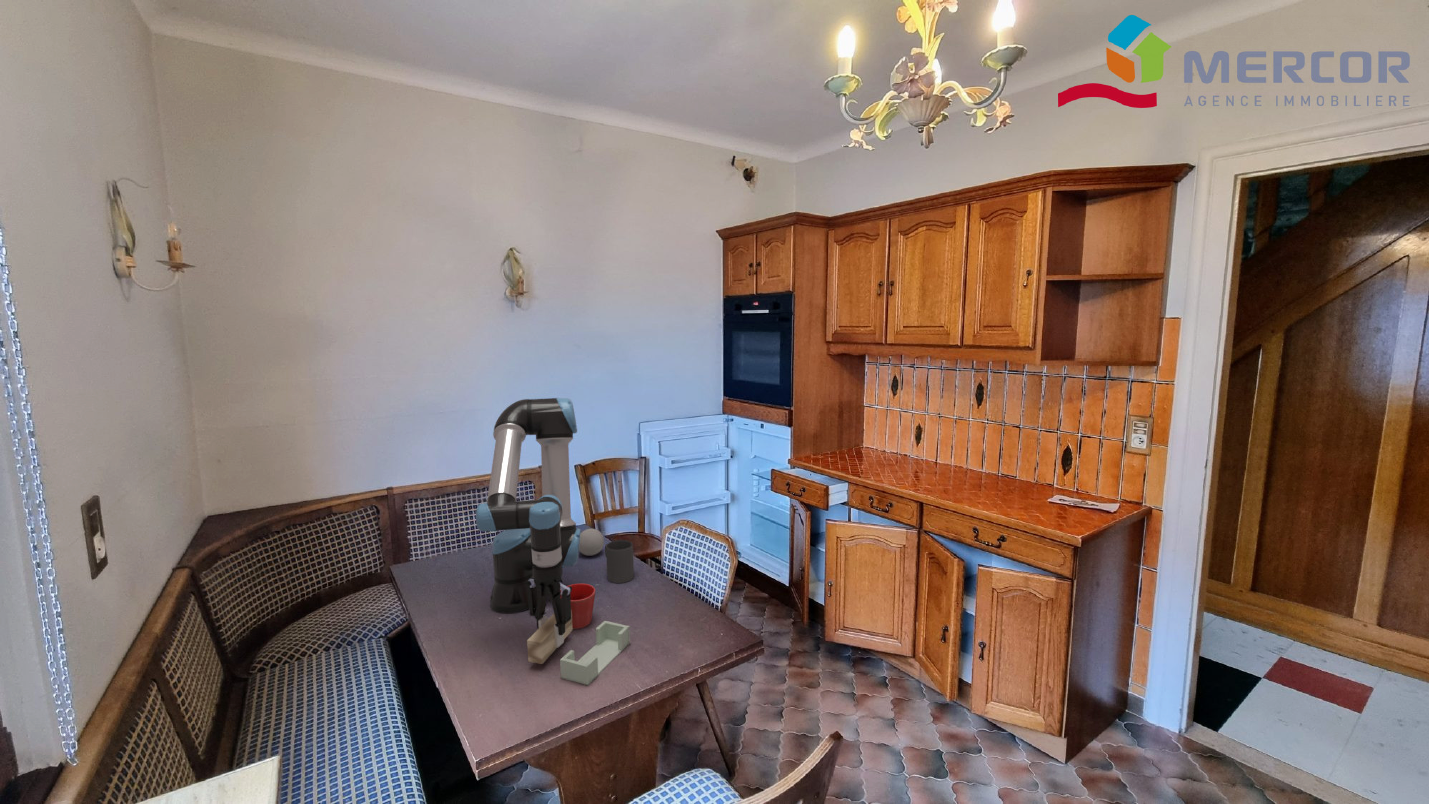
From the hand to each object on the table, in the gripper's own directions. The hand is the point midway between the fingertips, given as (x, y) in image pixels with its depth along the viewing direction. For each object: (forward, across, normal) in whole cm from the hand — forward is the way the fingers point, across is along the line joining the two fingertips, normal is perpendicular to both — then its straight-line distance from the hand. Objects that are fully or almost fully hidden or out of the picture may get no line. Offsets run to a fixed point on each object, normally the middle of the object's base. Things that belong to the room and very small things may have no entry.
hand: (551, 642), depth 155 cm
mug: (+4, -8, +46) cm, 47 cm away
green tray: (+2, +14, +1) cm, 14 cm away
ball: (+5, -28, +58) cm, 65 cm away
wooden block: (+1, 0, 0) cm, 1 cm away
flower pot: (+3, -2, +15) cm, 16 cm away
